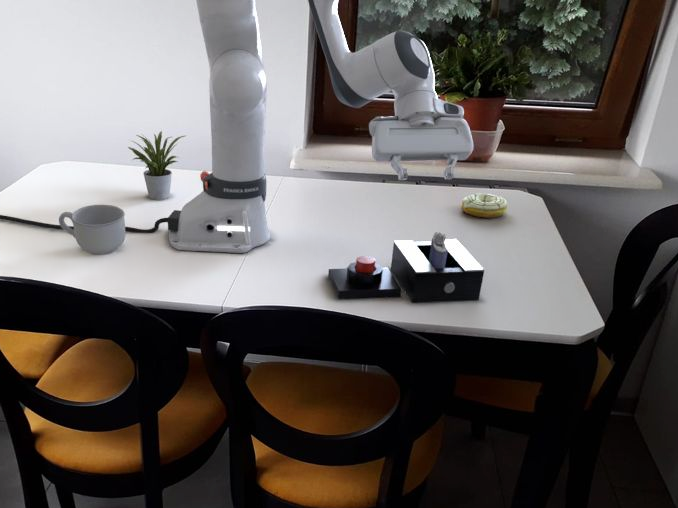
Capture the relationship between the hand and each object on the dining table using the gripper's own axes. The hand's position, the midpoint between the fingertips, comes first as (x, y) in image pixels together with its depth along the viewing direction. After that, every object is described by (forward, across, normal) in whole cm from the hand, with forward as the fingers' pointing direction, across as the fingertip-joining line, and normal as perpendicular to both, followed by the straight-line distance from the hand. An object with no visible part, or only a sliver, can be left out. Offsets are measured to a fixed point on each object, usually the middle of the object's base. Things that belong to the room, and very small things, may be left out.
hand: (426, 178), depth 139 cm
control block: (+21, -14, +4) cm, 25 cm away
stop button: (+18, -14, +2) cm, 23 cm away
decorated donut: (-7, +26, +32) cm, 42 cm away
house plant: (-20, -53, +45) cm, 72 cm away
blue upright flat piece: (+21, 0, +4) cm, 21 cm away
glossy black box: (+21, 0, +4) cm, 21 cm away
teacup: (+4, -67, +21) cm, 70 cm away
